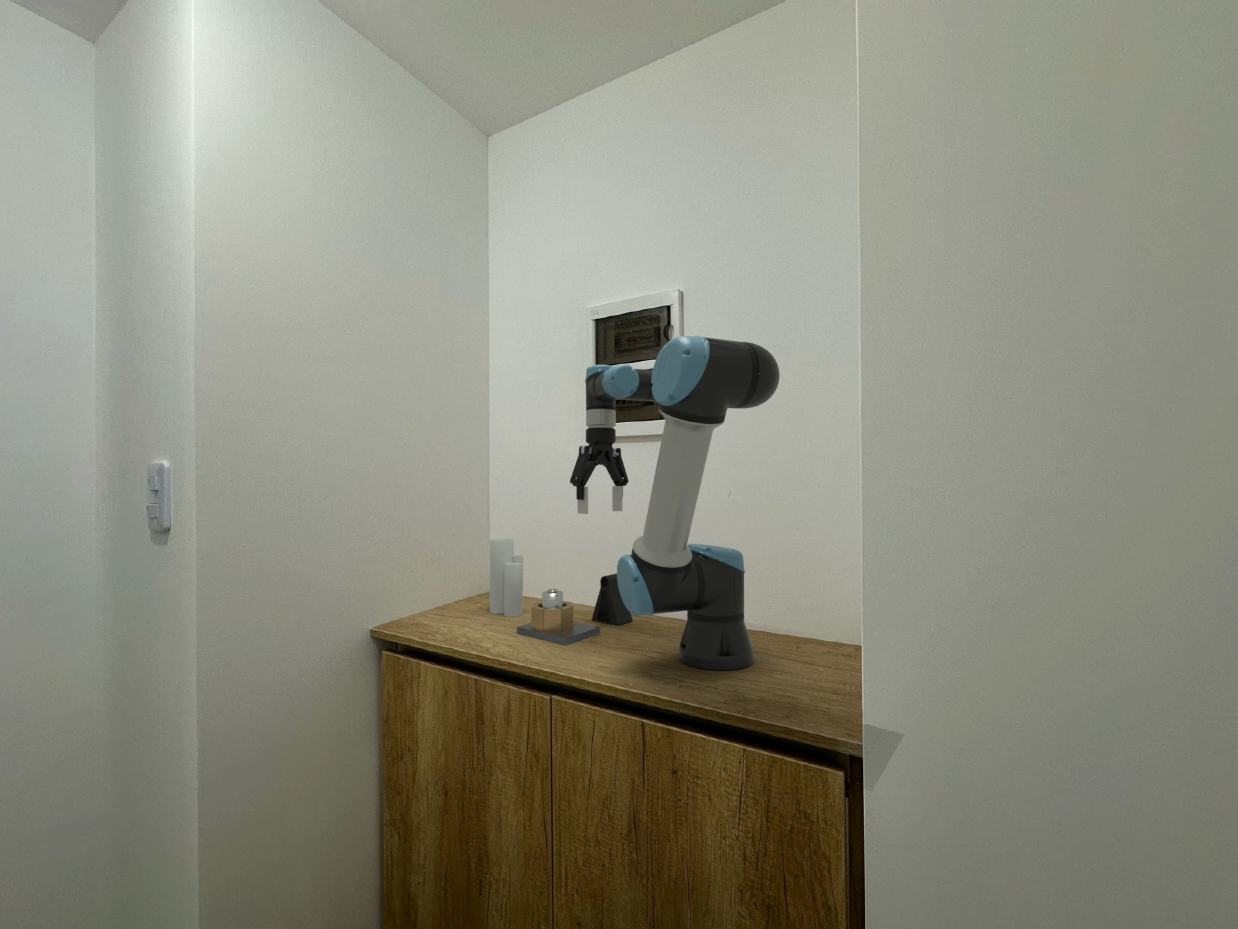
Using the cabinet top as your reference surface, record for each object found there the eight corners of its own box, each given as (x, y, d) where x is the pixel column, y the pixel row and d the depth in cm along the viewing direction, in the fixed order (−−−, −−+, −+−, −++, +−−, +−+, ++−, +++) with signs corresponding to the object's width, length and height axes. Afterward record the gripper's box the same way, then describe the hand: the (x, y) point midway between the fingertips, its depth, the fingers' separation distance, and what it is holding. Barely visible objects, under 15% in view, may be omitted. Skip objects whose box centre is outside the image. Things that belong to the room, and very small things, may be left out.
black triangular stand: (591, 620, 146) (591, 574, 146) (606, 616, 151) (606, 571, 151) (617, 626, 140) (617, 578, 140) (632, 621, 145) (632, 575, 145)
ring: (581, 624, 136) (581, 604, 136) (552, 633, 128) (552, 611, 128) (552, 618, 142) (552, 598, 142) (522, 626, 134) (522, 605, 134)
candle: (484, 612, 155) (484, 540, 156) (503, 607, 161) (503, 538, 162) (513, 617, 149) (514, 542, 150) (532, 612, 155) (532, 540, 156)
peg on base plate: (599, 633, 134) (599, 591, 134) (565, 645, 124) (565, 599, 124) (552, 623, 143) (552, 583, 144) (517, 633, 134) (517, 591, 134)
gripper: (619, 432, 152) (619, 509, 152) (555, 424, 132) (555, 514, 132) (641, 430, 148) (641, 510, 147) (578, 422, 128) (578, 515, 127)
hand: (600, 512), depth 139 cm, fingers open, 13 cm apart
